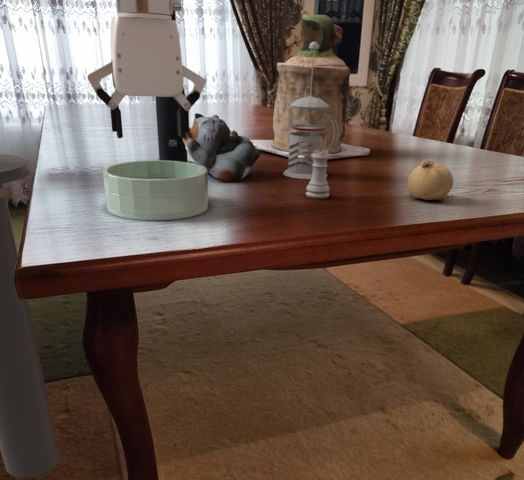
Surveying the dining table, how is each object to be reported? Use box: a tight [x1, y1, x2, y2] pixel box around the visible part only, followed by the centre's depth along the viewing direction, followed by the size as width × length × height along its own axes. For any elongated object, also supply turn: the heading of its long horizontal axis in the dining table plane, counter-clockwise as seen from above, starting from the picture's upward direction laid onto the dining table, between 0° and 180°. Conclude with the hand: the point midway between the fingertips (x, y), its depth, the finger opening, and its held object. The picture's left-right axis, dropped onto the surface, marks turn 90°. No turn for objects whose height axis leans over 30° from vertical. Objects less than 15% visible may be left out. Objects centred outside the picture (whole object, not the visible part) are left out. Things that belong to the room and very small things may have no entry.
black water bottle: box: [154, 11, 189, 162], centre depth 114 cm, size 6×6×30 cm
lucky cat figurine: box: [183, 112, 262, 183], centre depth 108 cm, size 15×12×14 cm
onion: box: [407, 159, 454, 201], centre depth 96 cm, size 8×8×7 cm
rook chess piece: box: [305, 150, 330, 200], centre depth 95 cm, size 4×4×8 cm
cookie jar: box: [249, 10, 371, 161], centre depth 132 cm, size 25×25×32 cm
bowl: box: [102, 159, 209, 221], centre depth 86 cm, size 16×16×6 cm
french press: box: [282, 42, 339, 180], centre depth 108 cm, size 10×12×25 cm
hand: (151, 137), depth 82 cm, fingers open, 9 cm apart
